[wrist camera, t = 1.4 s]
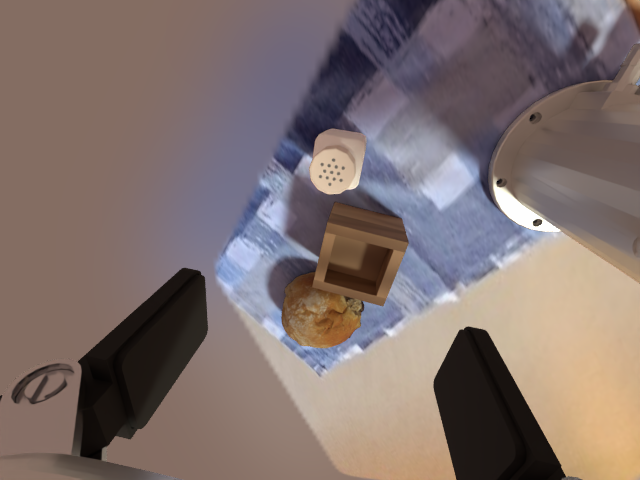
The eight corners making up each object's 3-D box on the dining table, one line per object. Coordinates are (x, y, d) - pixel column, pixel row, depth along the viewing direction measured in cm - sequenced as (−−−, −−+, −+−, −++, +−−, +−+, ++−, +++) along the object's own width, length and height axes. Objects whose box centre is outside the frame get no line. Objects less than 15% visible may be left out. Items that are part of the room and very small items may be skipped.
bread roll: (306, 251, 37) (264, 276, 31) (375, 279, 32) (341, 316, 26) (303, 307, 42) (265, 339, 36) (363, 340, 37) (332, 384, 31)
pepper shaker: (326, 126, 26) (306, 137, 18) (368, 133, 26) (366, 147, 18) (321, 168, 28) (300, 195, 20) (359, 175, 28) (354, 205, 20)
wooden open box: (334, 201, 30) (327, 222, 24) (401, 218, 29) (408, 242, 24) (321, 258, 33) (312, 287, 28) (381, 273, 33) (383, 306, 28)
